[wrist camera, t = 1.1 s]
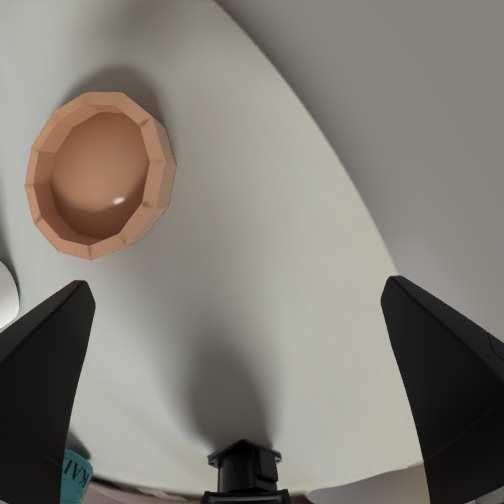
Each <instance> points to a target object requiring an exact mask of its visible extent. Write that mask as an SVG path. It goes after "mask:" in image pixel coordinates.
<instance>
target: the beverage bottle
mask: <svg viewBox="0 0 504 504" xmlns="http://www.w3.org/2000/svg"><path fill="white" fill-rule="evenodd" d="M62 467H63V472H62V483H61V497H60V504H81V500H82V498H83V496H84V493H86V492H85V491H86V488H87V487H88V485H89V481H90V479H92V478H91V476H93V475H92V474H93V467H92V466H91V464H90V463H89V462H88V461H87V460H86V459H84V458H83V457H82V456H80V455H79V454H77V453H75V452H74V451H71V450H69V449H66V448H65V454H64V462H63V466H62ZM90 482H91V481H90Z"/></svg>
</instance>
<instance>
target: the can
mask: <svg viewBox="0 0 504 504" xmlns="http://www.w3.org/2000/svg"><path fill="white" fill-rule="evenodd" d="M18 309H19V298H18V292H17V288H16V284H15V282H14V279H13V277H12V275H11V273H10V272H9V270H8V269H7V267H6V266H5V265H4V264H3V263H2V262H1V261H0V328H1V327H3V326H4V325H6V324H7V323H9V322H10V321H11V320H13V319H14V318H15V317H16V316H17V313H18Z"/></svg>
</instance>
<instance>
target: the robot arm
mask: <svg viewBox="0 0 504 504" xmlns="http://www.w3.org/2000/svg"><path fill="white" fill-rule="evenodd" d="M381 307H382V311H383V314H384V318H385V322H386V326H387V330H388V334H389V339H390V342H391V346H392V349H393V352H394V355H395V358H396V361H397V364H398V367H399V371H400V374H401V377H402V380H403V383H404V387H405V390H406V393H407V397H408V400H409V404H410V407H411V411H412V415H413V419H414V422H415V426H416V430H417V435H418V439H419V443H420V448H421V452H422V457H423V461H424V467H425V473H426V478H427V484H428V489H429V496H430V504H465V503H468V502H470V501H473V500H475V501H474V502H472V503H471V504H504V343H503V342H501V341H500V340H498V339H497V338H495V337H494V336H493V335H491V334H490V333H489V332H486V330H484V329H483V328H481V327H480V326H478V325H477V324H476V323H474V322H473V321H471V320H470V319H468V318H467V317H465V316H464V315H462V314H461V313H459V312H458V311H456V310H455V309H453V308H452V307H450V306H449V305H447V304H446V303H444V302H442V301H441V300H439V299H438V298H436V297H435V296H433V295H432V294H430V293H429V292H427V291H425V290H424V289H422V288H421V287H419V286H417V285H416V284H414V283H413V282H411V281H409V280H408V279H406V278H405V277H403V276H400V275H398V276H390V277H388V279H387V281H386V284H385V287H384V290H383V293H382V296H381ZM95 308H96V305H95V300H94V298H93V295H92V292H91V290H90V287H89V285H88V283H87V282H86V281H84V280H75V281H73V282H71V283H70V284H68V285H67V286H65V287H64V288H62V289H61V290H59V291H58V292H56V293H55V294H53V295H52V296H50V297H49V298H47V299H46V300H45V301H43V302H42V303H40V304H39V305H38V306H36V307H35V308H33V309H32V310H31V311H29V312H28V313H26V314H25V315H24V316H22V317H21V318H20V319H18V320H17V321H16V322H14V323H13V324H12V325H10V326H9V327H8V328H6V329H5V330H4V331H2V332H1V333H0V504H60V497H61V483H62V472H63V467H62V466H63V462H64V454H65V447H66V440H67V434H68V428H69V423H70V417H71V412H72V408H73V403H74V398H75V394H76V390H77V385H78V381H79V377H80V373H81V370H82V366H83V362H84V359H85V355H86V351H87V347H88V342H89V336H90V331H91V327H92V322H93V317H94V313H95ZM281 461H282V457H280V456H278V455H276V454H273V453H271V452H269V451H266V450H264V449H262V448H260V447H258V446H256V445H253V444H251V443H249V442H247V441H245V440H241V441H239V442H237V443H236V444H234V445H232V446H231V447H229V448H228V449H226V450H224V451H223V452H221V453H220V454H218V455H216V456H215V457H213V458H211V459H210V460H208V464H209V465H211V466H213V467H215V468H217V469H218V488H217V492H210V491H205V493H204V496H202V497H201V500H200V504H291V500H290V497H289V493H288V489H282V490H277V484H276V482H277V481H278V473H277V467H276V465H277V464H278V463H280V462H281Z"/></svg>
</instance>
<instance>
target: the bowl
mask: <svg viewBox="0 0 504 504" xmlns="http://www.w3.org/2000/svg"><path fill="white" fill-rule="evenodd" d="M176 166H177V164H176V161H175V158H174V155H173V151H172V148H171V145H170V142H169V138H168V135H167V131H166V128H165V127H164V126H163V125H162V124H161V123H159V122H158V121H157V120H156V119H155V118H154V117H152V116H151V115H150V114H149V113H148V112H146V111H145V110H144V109H143V108H141V107H140V106H139V105H138V104H136V103H135V102H134V101H133V100H131V99H130V98H129V97H128V96H126V95H125V94H124V93H123V92H86V93H84V94H82V95H80V96H79V97H77V98H75V99H74V100H72V101H70V102H69V103H67V104H66V105H64V106H63V107H61V108H59V109H58V110H56V111H55V112H53V114H52V115H51V117H50V118H49V120H48V121H47V123H46V124H45V126H44V127H43V129H42V131H41V132H40V134H39V135H38V137H37V139H36V140H35V142H34V144H33V145H32V148H31V153H30V158H29V163H28V169H27V176H26V183H25V189H26V194H27V198H28V203H29V207H30V211H31V214H32V218H33V222H34V225H35V226H36V227H37V228H38V229H39V231H40V232H41V233H42V234H43V235H44V236H45V238H46V239H47V240H48V241H49V242H50V243H51V244H52V245H53V247H54V248H55V249H56V250H57V251H58V252H62V253H66V254H69V255H73V256H77V257H80V258H84V259H88V260H94V259H96V258H99V257H101V256H104V255H106V254H109V253H111V252H114V251H116V250H119V249H122V248H124V247H127V246H129V245H131V244H133V243H135V242H137V241H139V240H140V239H142V238H144V237H145V235H146V234H147V233H148V231H149V230H150V229H151V228H152V226H153V225H154V224H155V223H156V221H157V220H158V219H159V218H160V216H161V215H162V214H163V213H164V211H165V210H166V209H167V208H168V206H169V201H170V195H171V190H172V185H173V180H174V176H175V171H176Z"/></svg>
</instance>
